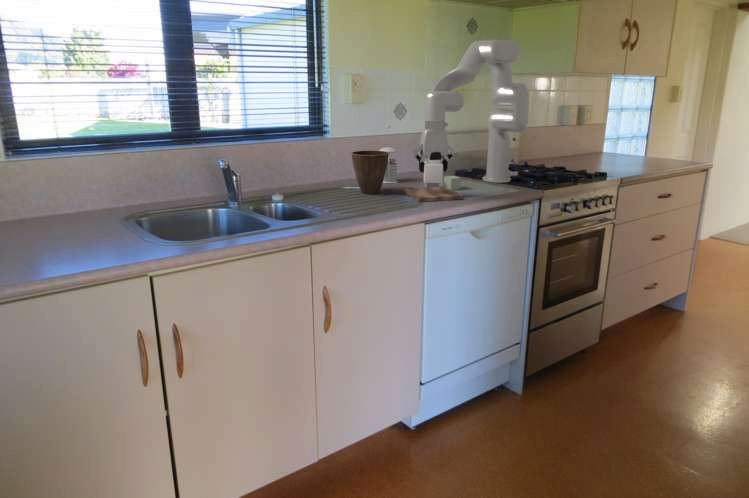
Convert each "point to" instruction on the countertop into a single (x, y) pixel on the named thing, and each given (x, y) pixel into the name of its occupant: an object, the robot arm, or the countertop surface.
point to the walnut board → (433, 194)
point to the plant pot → (370, 169)
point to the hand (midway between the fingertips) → (433, 171)
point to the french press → (390, 166)
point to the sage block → (452, 182)
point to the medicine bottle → (433, 168)
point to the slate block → (431, 185)
